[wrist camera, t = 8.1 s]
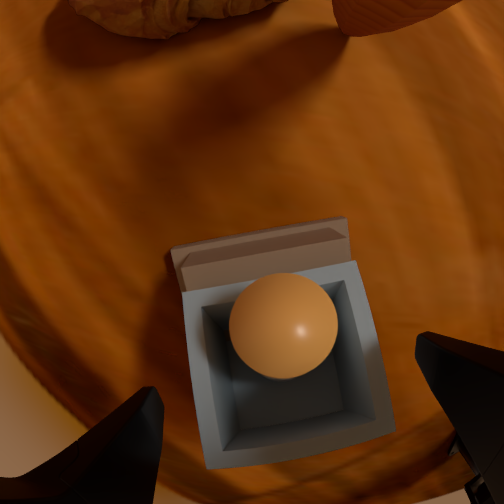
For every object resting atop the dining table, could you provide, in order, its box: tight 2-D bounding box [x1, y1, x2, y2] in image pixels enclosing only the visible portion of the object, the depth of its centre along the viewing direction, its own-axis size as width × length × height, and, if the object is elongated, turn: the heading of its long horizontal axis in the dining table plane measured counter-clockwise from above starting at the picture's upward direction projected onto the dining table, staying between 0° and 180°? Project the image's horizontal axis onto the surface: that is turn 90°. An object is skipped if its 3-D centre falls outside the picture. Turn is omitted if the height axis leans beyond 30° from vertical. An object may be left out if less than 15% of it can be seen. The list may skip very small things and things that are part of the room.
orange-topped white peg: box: [229, 273, 338, 382], centre depth 12 cm, size 3×3×7 cm
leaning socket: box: [170, 216, 396, 469], centre depth 12 cm, size 11×9×9 cm
